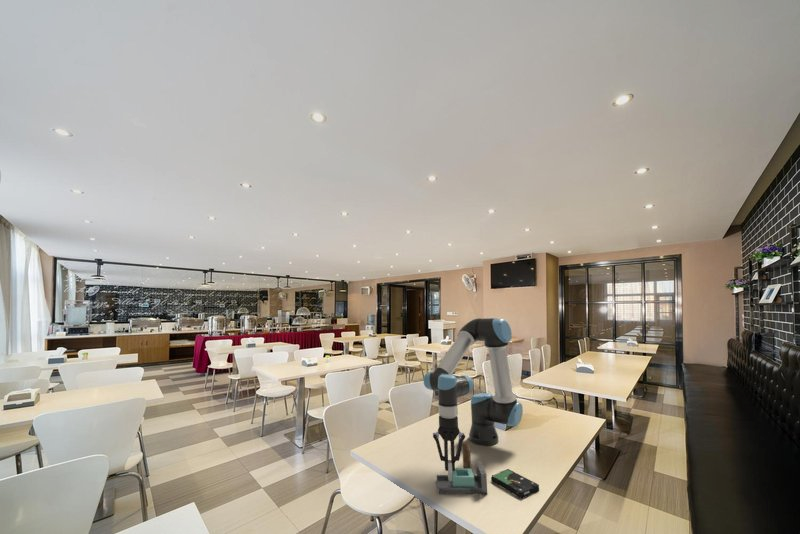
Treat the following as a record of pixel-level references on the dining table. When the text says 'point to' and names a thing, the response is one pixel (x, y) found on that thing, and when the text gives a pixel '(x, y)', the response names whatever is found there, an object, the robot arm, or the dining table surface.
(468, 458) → the dowel
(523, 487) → the disk drive
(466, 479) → the block
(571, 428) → the dining table surface
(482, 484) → the rail base
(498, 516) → the dining table surface
